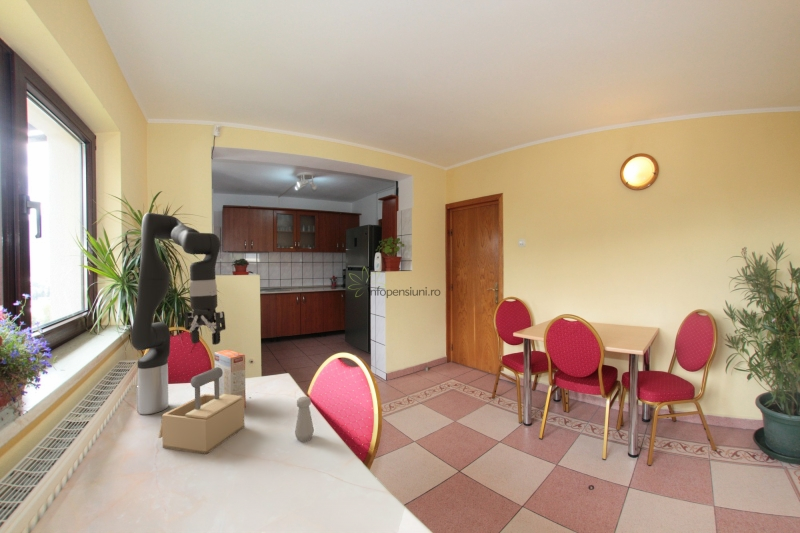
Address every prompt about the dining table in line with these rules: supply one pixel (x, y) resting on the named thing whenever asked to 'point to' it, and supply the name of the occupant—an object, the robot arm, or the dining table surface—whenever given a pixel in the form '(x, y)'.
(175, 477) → the dining table surface
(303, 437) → the salt shaker
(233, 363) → the cracker box
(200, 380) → the door with pull handle
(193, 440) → the tan open box
